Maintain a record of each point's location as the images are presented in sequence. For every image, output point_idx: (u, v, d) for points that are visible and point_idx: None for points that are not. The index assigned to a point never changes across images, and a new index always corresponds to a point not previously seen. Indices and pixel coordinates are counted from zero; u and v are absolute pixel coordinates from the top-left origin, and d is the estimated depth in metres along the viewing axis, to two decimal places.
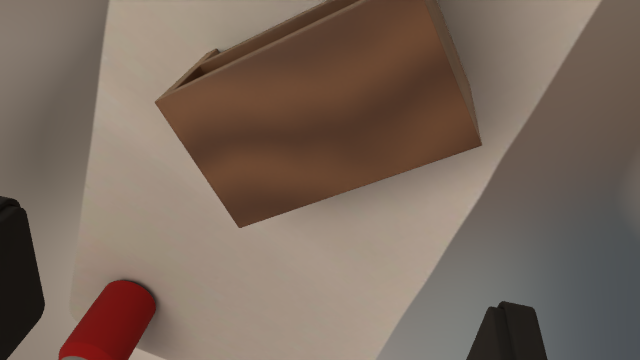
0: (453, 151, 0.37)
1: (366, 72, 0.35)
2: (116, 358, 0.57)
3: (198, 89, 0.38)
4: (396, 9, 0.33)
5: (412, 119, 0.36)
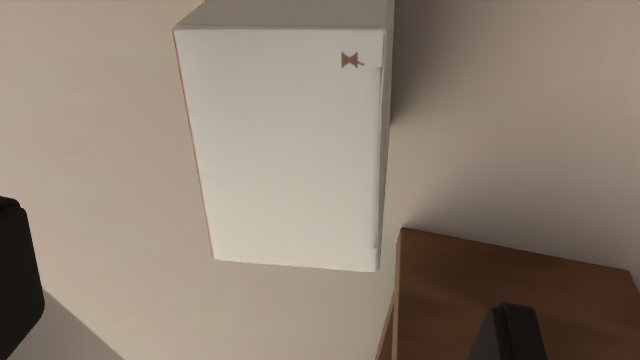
0: None
1: None
2: None
3: None
4: None
5: None
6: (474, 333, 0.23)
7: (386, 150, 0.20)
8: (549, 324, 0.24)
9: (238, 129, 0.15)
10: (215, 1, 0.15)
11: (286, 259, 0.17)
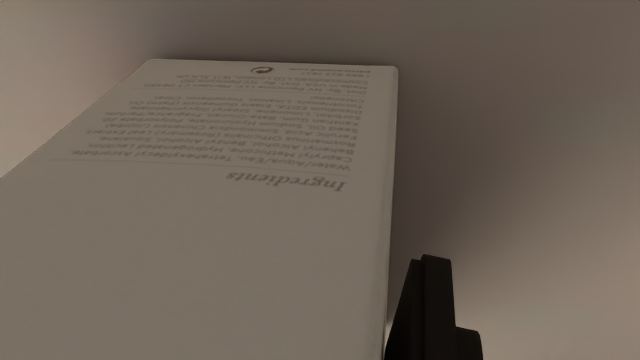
0: None
1: None
2: None
3: None
4: None
5: None
6: None
7: None
8: None
9: None
10: None
11: None
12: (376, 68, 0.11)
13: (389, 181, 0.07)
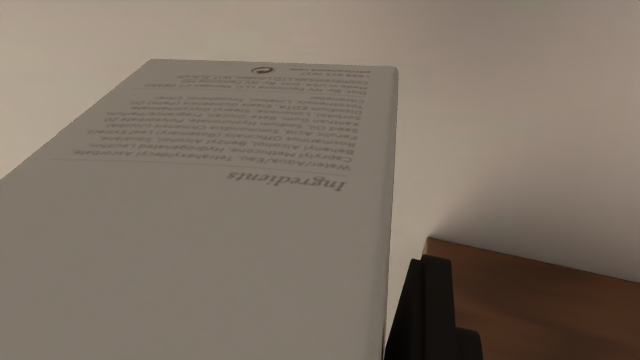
0: None
1: None
2: None
3: None
4: None
5: None
6: (500, 343, 0.23)
7: None
8: (575, 337, 0.24)
9: None
10: None
11: None
12: (376, 68, 0.11)
13: (389, 181, 0.07)
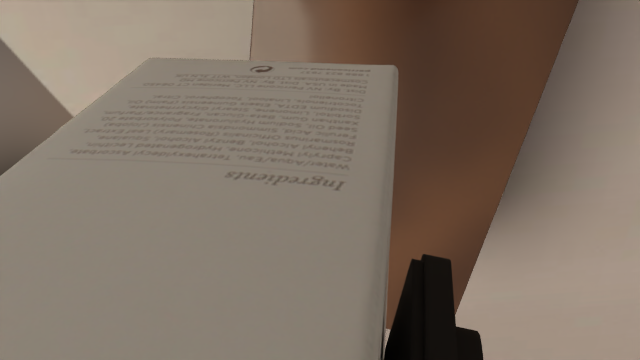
0: (566, 10, 0.20)
1: (350, 55, 0.22)
2: None
3: None
4: None
5: (465, 38, 0.21)
6: None
7: None
8: None
9: None
10: None
11: None
12: (376, 67, 0.11)
13: (388, 180, 0.07)
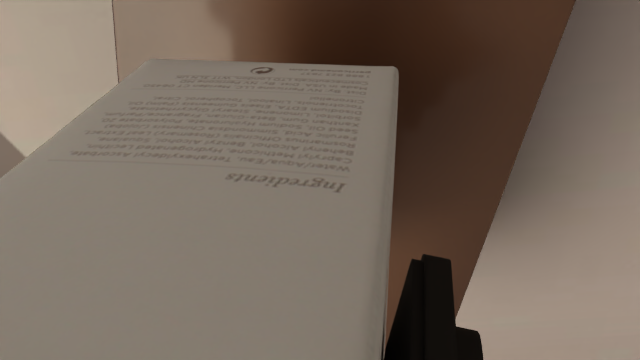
0: None
1: None
2: None
3: None
4: None
5: None
6: None
7: None
8: None
9: None
10: None
11: None
12: (376, 68, 0.11)
13: (389, 182, 0.07)
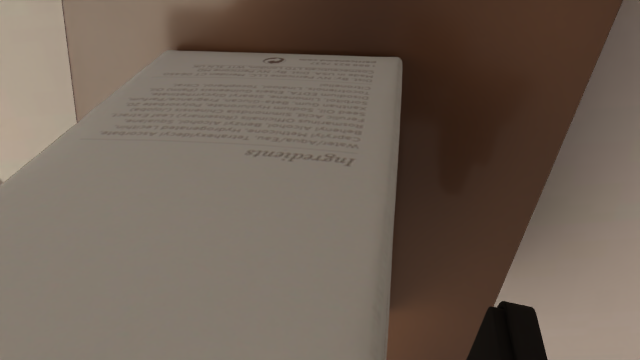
0: None
1: None
2: None
3: None
4: None
5: None
6: None
7: None
8: None
9: None
10: None
11: None
12: (381, 59, 0.11)
13: (394, 158, 0.08)
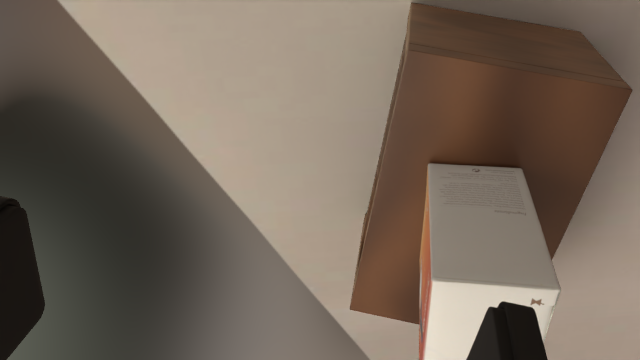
0: (612, 121, 0.29)
1: (459, 145, 0.31)
2: None
3: (365, 274, 0.38)
4: (423, 83, 0.30)
5: (541, 136, 0.30)
6: (463, 36, 0.33)
7: None
8: (517, 39, 0.34)
9: (458, 328, 0.25)
10: (440, 245, 0.25)
11: None
12: (515, 169, 0.31)
13: None
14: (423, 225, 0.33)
